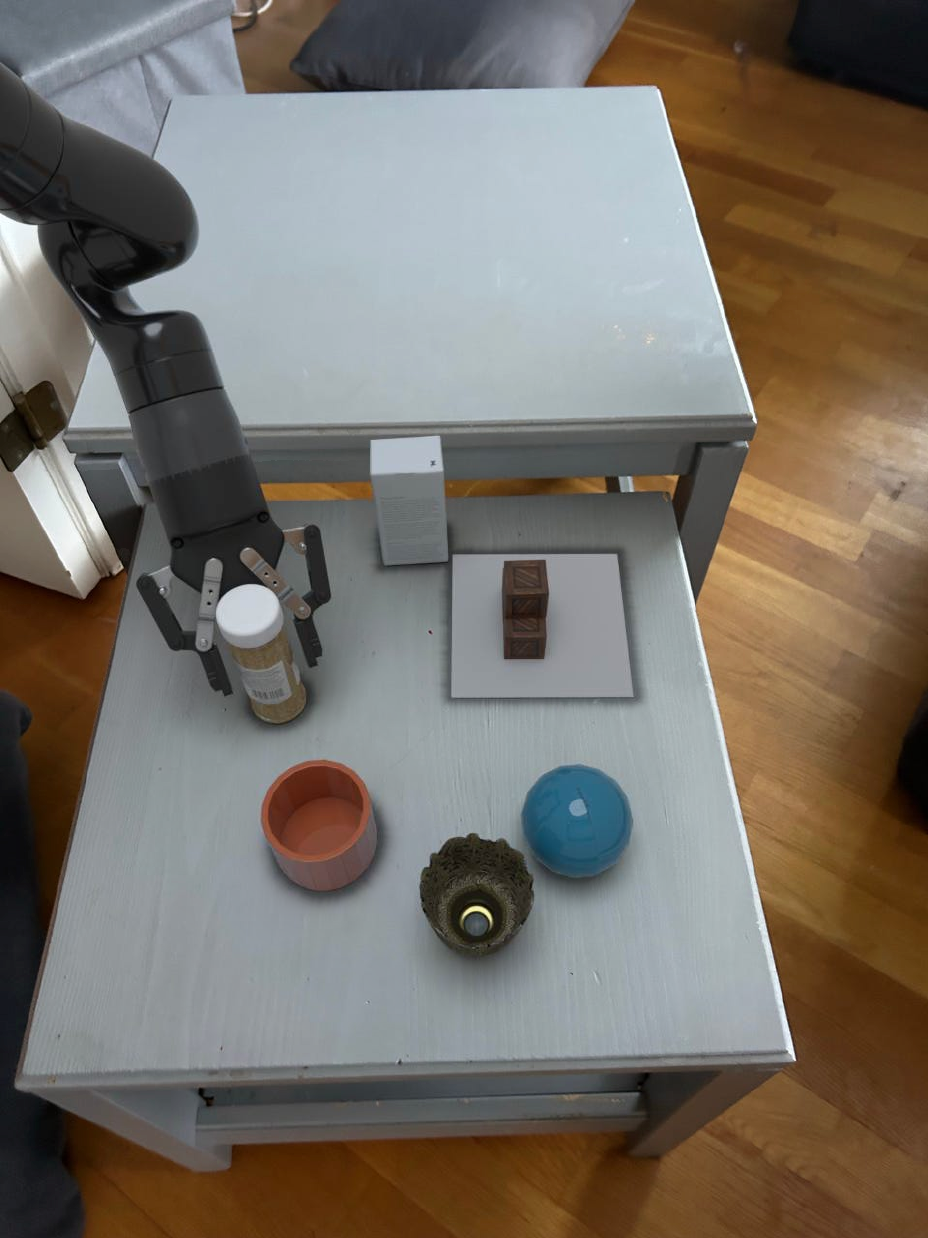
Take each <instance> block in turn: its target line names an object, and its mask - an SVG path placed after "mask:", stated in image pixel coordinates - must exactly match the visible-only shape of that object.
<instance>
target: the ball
mask: <svg viewBox="0 0 928 1238" xmlns="http://www.w3.org/2000/svg"><path fill="white" fill-rule="evenodd" d="M520 821H521V828H522V834H523V841H524V842H525V844H526V846H527V847H528V849H529V851H530V852H531V854H532V855H533V857H534V859H535V860H536V861H537V862H539V863H540V864H541V865H543V866H544V867H546V868H547V870H549V871H551V872H552V873H553V874H557V875H560V876H564V877H568V878H571V879H578V878H588V877H589V878H590V877H595V876H598V875H600V874H601V873H603V872H604V871H606V870H609V869H610V868H612V867H614V866H615V865H616V863H617V862H618V861H619V859H620V858H622V855H624V853H625V851H626V850H627V849H628V847H629V846H630V842H631V836H632V831H633V827H634V817H633V812H632V808H631V803H630V800H629V797H628V795H627V794H626V793H625V791H624V790H623V789H622V787H621V786H620V784H619V783H618V781H617V780H616V779H614V778H613V777H611V776H610V775H608V774H607V773H606V772H604V771H603V770H602V769H600V768H597V767H593V766H589V765H585V764H581V763H578V764H577V763H576V764H566V765H565V764H564V765H559V766H557V767H555V768H553V769H552V770H549V771H548V772H546V773H544V774H541V776H539V778H538V779H537V780H536V781H535V783H534V784H533V785H532V786H531V787H530V789H529V790H528V791H527V792H526V795H525V799H524V801H523V806H522V809H521V813H520Z"/></svg>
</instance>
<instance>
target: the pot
mask: <svg viewBox="0 0 928 1238" xmlns="http://www.w3.org/2000/svg"><path fill="white" fill-rule="evenodd" d="M260 824H261V827H262V830H263V834H264V837H265V839H266V841H267V843H268V845H269V847H270V849H271V851H272V854H273V856H274V857H275V860H276V861H277V864H278V866H279V867H280V868H281V870H282V872H283V873H284V874H285V876H286V877H287V878H288V879H290V881H292V882H293V883H294V884H295V885H298V886H300V887H302V888H304V889H306V890H312V891H316V892H317V891H318V892H326V891H327V892H328V891H333V890H338V889H341V888H344V887H346V886H348V885H349V884H351V883H353V882H355V881H356V880H357V879H358V878H360V877H361V875H363V873H365V872H366V870H367V869H368V868H369V867H370V864H371V863H372V862H373V859H374V857H375V854H376V851H377V846H378V833H377V829H378V828H377V824H376V819H375V813H374V809H373V805H372V801H371V796H370V793H369V791H368V788H367V785H366V783H365V781H364V780H363V779H362V778H361V777H360V775H359V774H358V773H357V772H356V771H355V770H354V769H352V768H350V767H348V766H347V765H345V764H343V763H341V762H337V761H334V760H328V759H315V760H306V761H304V762H301V763H299V764H296V765H293V766H291V767H290V768H288V769H287V770H285V771H283V773H281V774H280V775H278V776H277V777H276V778H275V780H274V781H273V783H271V785H270V787H268V789H267V791H266V793H265V796H264V799H263V801H262V803H261V810H260Z"/></svg>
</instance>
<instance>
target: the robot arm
mask: <svg viewBox="0 0 928 1238" xmlns="http://www.w3.org/2000/svg"><path fill="white" fill-rule="evenodd" d="M0 214H1V215H2V216H4V217H6V218H8V219H10V220H12V221H14V222H16V223H20V224H23V225H26V226H27V225H28V226H37V229H36V232H37V239H38V240H37V241H38V245H39V249H40V251H41V254H42V257H43V259H44V261H45V263H46V266H47V267H48V269H49V270H50V272H51V274H52V275H53V277H54V278H55V280H56V282H57V283H58V284H59V286H60V288H61V289H62V290H63V292H64V294H66V296H67V297H68V299H69V300H70V302H71V303H72V304H73V306H74V308H75V309H76V311H77V312H78V314H79V315H80V317H81V318H82V320H83V321H84V324H85V325H86V327H87V329H88V330H89V331H90V333H91V334H92V336H93V337H94V339H95V341H96V342H97V344H98V345H99V347H100V348H101V350H102V352H103V353H104V355H105V357H106V359H107V361H108V362H109V365H110V368H111V371H112V374H113V377H114V380H115V382H116V385H117V387H118V391H119V393H120V396H121V400H122V402H123V405H124V408H125V410H126V413H127V415H128V416H127V417H128V420H129V424H130V429H131V432H132V433H131V434H132V438H133V443H134V447H135V450H136V453H137V456H138V459H139V461H140V465H141V470H142V472H143V474H144V476H145V479H146V481H147V484H148V487H149V490H150V493H151V495H152V498H153V501H154V504H155V507H156V510H157V513H158V515H159V518H160V521H161V524H162V527H163V530H164V532H165V535H166V538H167V541H168V544H169V547H170V558H169V564H167V565H165V566H163V567H160V568H158V569H156V570H154V571H152V572H144V573H141V574H140V575H139V576H138V578H137V580H136V582H135V586H136V588H137V591H138V592H139V593H140V594H139V595H140V596H141V598H142V600H143V602H144V603H145V605H146V607H147V609H148V611H149V613H150V615H151V616H152V618H153V620H154V623H155V624H156V625H157V628H158V629H159V632H160V633H161V636H162V638H163V639H164V641H165V642H166V644H167V646H168V648H169V649H170V650H171V651H173V652H180V651H193V652H195V653H196V654H197V655H198V656H199V658H200V661H201V664H202V666H203V669H204V672H205V676H206V678H207V681H208V683H209V686H210V688H211V689H212V690H213V691H214V692H219V691H221V692H222V695H223V697H224V698H226V697H228V696H232V695H234V694H235V693H234V688H233V684H232V682H231V679H230V677H229V673H228V671H227V668H226V666H225V663H224V660H223V656H222V653H221V650H220V649H219V648H220V647H219V644H218V643H215V642H214V634H215V626H216V621H217V620H216V608H217V605H218V603H219V601H220V600H221V598H222V597H223V596H224V595H225V594H226V593H227V592H229V591H230V590H232V589H234V588H236V587H238V586H242V585H247V584H256V585H261V586H264V587H266V588H268V589H270V590H271V591H272V592H273V593H274V594H275V595H276V596H277V598H278V600H280V601H281V602H282V603H283V605H285V606H286V607H287V608H288V609H289V610H290V612H292V615H293V618H292V623H293V626H294V629H295V633H296V635H297V638H298V641H299V644H300V647H301V651H302V653H303V656H304V659H305V662H306V665H307V667H308V668H309V669H312V668H315V667H318V666H319V664H318V660H317V659H318V658H321V657H323V647H322V646H323V645H322V643H321V640H320V637H319V633H318V630H317V627H316V625H315V622H314V614H315V612H316V610H318V609H319V608H320V607H321V606H323V605H324V604H327V603H329V602H330V601H331V599H332V591H331V586H330V580H329V574H328V569H327V562H326V556H325V550H324V545H323V538H322V534H321V533H322V532H321V529H320V528H319V526H317V525H316V524H314V523H304V525H302V526H298V527H297V526H296V527H290V528H284V529H282V528H281V527H280V526H279V525H278V524H277V523H276V522H275V521H274V519H273V517H272V516H271V513H270V510H269V507H268V504H267V501H266V496H265V495H264V492H263V488H262V486H261V483H260V479H259V476H258V474H257V469H256V467H255V464H254V461H253V459H252V455H251V451H250V449H249V445H248V441H247V440H248V439H247V438H246V436H245V432H244V430H243V428H242V424H241V422H240V420H239V417H238V415H237V413H236V410H235V408H234V406H233V404H232V402H231V399H230V398H229V395H228V393H227V390H226V389H225V383H224V380H223V378H222V375H221V371H220V369H219V366H218V363H217V359H216V356H215V354H214V352H213V348H212V344H211V342H210V339H209V336H208V333H207V331H206V328H205V326H204V323H203V322H202V321H201V319H200V318H199V316H198V315H196V314H195V313H193V312H191V311H187V310H182V309H166V310H165V309H164V310H157V311H148V312H146V311H145V310H144V309H143V308H142V307H141V306H140V305H139V304H138V302H137V300H135V299H134V297H133V296H132V294H131V291H130V288H129V287H132V286H133V285H136V284H139V283H142V282H144V281H147V280H149V279H153V278H155V277H157V276H161V275H163V274H166V273H169V272H172V271H174V270H176V269H178V268H180V267H182V266H183V265H185V264H186V263H187V262H188V261H189V260H190V259H191V258H192V257H193V255H194V253H195V251H196V249H197V247H198V244H199V238H200V222H199V217H198V213H197V210H196V208H195V206H194V203H193V200H192V199H191V197H190V195H189V194H188V192H187V190H186V189H185V188H184V186H183V185H182V184H181V183H180V181H179V180H178V179H177V178H176V177H175V176H174V174H172V172H171V171H170V170H168V169H167V168H166V167H165V166H163V164H161V163H159V162H158V161H157V160H156V159H154V158H153V157H151V156H149V155H148V154H146V153H145V152H142V151H141V150H140V149H137V148H135V147H133V146H131V145H129V144H127V143H124V142H123V141H120V140H118V139H116V138H114V137H112V136H109V135H107V134H105V133H103V132H101V131H99V130H97V129H95V128H93V127H91V126H90V125H89V126H88V125H86V124H84V123H80V122H78V121H76V120H74V119H71V118H69V117H67V116H65V115H64V114H62V113H61V112H60V111H59V110H58V109H57V108H55V106H53V105H52V104H51V103H50V102H49V101H48V100H46V99H45V98H44V97H43V96H42V95H40V94H39V93H38V92H37V91H36V90H35V89H33V88H32V86H30V85H29V84H28V83H27V82H26V81H24V80H23V79H22V78H21V77H20V76H18V75H17V74H16V73H15V72H14V71H12V70H11V69H10V68H9V67H7V66H6V65H5V64H4V63H3V62H1V61H0ZM285 543H289V544H290V545H292V547H293V549H294V551H295V553H297V554H298V555H300V556H304V558H305V562H306V563H305V564H306V567H307V569H306V570H307V574H308V580H309V586H310V590H309V591H307V592H306V593H305V594H304V595H303V596H300V594H299V593H298V592H297V591H296V590H295V589H294V588H293V587H292V586H291V585H290V584H289V583H288V582H287V581H286V579H284V578H283V576H281V575H280V574H279V573H278V572H277V567H278V565H279V561H280V558H281V555H282V551H283V549H284V546H285ZM175 577H176V578H177V579H179V580H180V581H181V582H182V583H184V584H186V585H187V586H188V587H189V588H191V589H192V590H194V591H196V592H197V593H199V594H200V600H199V610H198V615H197V616H198V617H197V624H196V630H183V628H182V626H181V624H180V621H179V620H178V619H177V617H176V615H175V612H174V611H173V609H172V607H171V605H170V603H169V601H168V600H167V599H168V598H169V597H170V596H171V594H172V590H173V587H172V585H171V581H172V579H174V578H175Z"/></svg>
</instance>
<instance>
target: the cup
mask: <svg viewBox="0 0 928 1238" xmlns="http://www.w3.org/2000/svg"><path fill="white" fill-rule="evenodd" d="M419 879H420V881H419V887H418V888H419V897H420V900H421V902H420V906H421V910H422V912H423V914H424V915H425V918H426V920H427V922H428V924H429V925H430V928H431V929H432V931H433V932H434V933H435V935H436V936H437V938H438V939H439V940H440V941H441V942H442V943H443V944H444V945H445V946H446V947H448V948H449V949H450V950H451V951H454V952H455V953H458V954H460V955H462V956H466V957H474V958H482V957H488V956H491V955H494V954H496V953H498V952H500V951H502V950H503V949H505V948H506V947H507V946H508V945H510V944H511V943H512V942H513V941H514V940H515V939H516V937H517V936H518V934H519V933H520V932H521V930H522V928H523V927H524V924H525V923H526V921H527V920H528V918H529V916H530V913H531V911H532V908H533V905H534V901H535V891H534V890H533V884H534V881H535V878H534V875H533V874H532V873H530V872H529V867H528V862H527V860H526V858H525V855H524V854H523V853H522V852H521V851H520V850H519V849H517V848H515V847H511V844H510V843H509V841H508V840H507V839H505V838H502V837H499V838H498V839H496V840H495V841H493V840H491V839H490V838H486V839H484V838H480V836H479V833H477V832H470V833H468V834H467V835H466V836H465V837H464V836H454V837H451V838H448V839H447V840H446V841H445V842H444V843H443V844H442V846H441V848H440V849H439V851H434V852H432V853H430V854H429V865H428V866H424V867H423V868H422V870H421V873H420V878H419ZM475 913H476V914H477V913H478V914H480V915H483V916H484V917H485V919H486V921H487V928H486V930H485V931H484V932H483V933H482V934H479V935H474V934H471V933H470V932H469V931H468V930H467V928H466V921H467V918H468V917H469V916H470V915H472V914H475Z"/></svg>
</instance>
